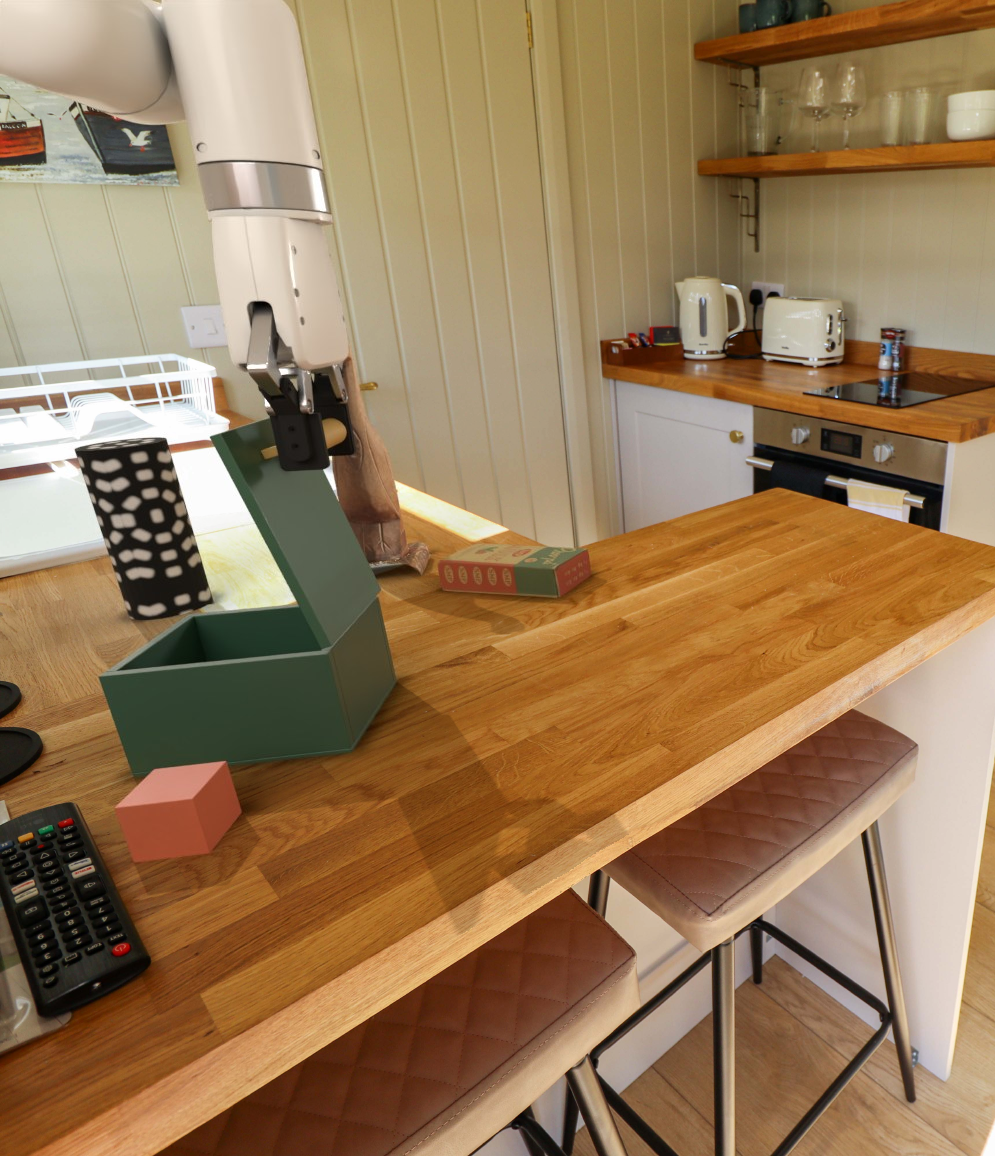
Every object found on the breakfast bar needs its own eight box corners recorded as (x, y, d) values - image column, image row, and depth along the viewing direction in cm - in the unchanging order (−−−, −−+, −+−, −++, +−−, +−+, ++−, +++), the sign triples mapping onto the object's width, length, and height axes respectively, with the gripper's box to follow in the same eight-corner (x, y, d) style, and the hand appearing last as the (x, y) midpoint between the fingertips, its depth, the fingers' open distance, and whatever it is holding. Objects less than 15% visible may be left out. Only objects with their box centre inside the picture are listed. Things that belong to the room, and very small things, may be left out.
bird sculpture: (329, 592, 102) (265, 322, 91) (343, 566, 112) (287, 321, 102) (425, 579, 105) (374, 317, 94) (430, 554, 115) (384, 316, 105)
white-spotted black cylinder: (118, 615, 97) (63, 447, 91) (196, 594, 104) (149, 435, 97) (146, 628, 93) (90, 452, 86) (226, 605, 99) (179, 439, 93)
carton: (482, 572, 107) (477, 540, 105) (593, 578, 102) (590, 545, 101) (441, 593, 99) (435, 560, 98) (559, 601, 95) (555, 566, 93)
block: (212, 859, 52) (192, 798, 51) (135, 868, 52) (113, 808, 50) (243, 817, 57) (226, 760, 55) (173, 826, 56) (154, 768, 55)
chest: (134, 782, 62) (97, 676, 59) (215, 705, 73) (188, 613, 70) (353, 757, 64) (328, 653, 61) (398, 685, 75) (378, 596, 72)
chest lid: (208, 436, 55) (286, 413, 55) (284, 412, 67) (348, 393, 67) (321, 649, 60) (391, 627, 61) (373, 592, 72) (431, 574, 73)
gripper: (263, 213, 64) (310, 446, 70) (138, 184, 48) (213, 489, 54) (364, 212, 65) (403, 442, 71) (275, 183, 49) (334, 483, 55)
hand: (320, 459), depth 62 cm, fingers closed on chest lid, 5 cm apart
